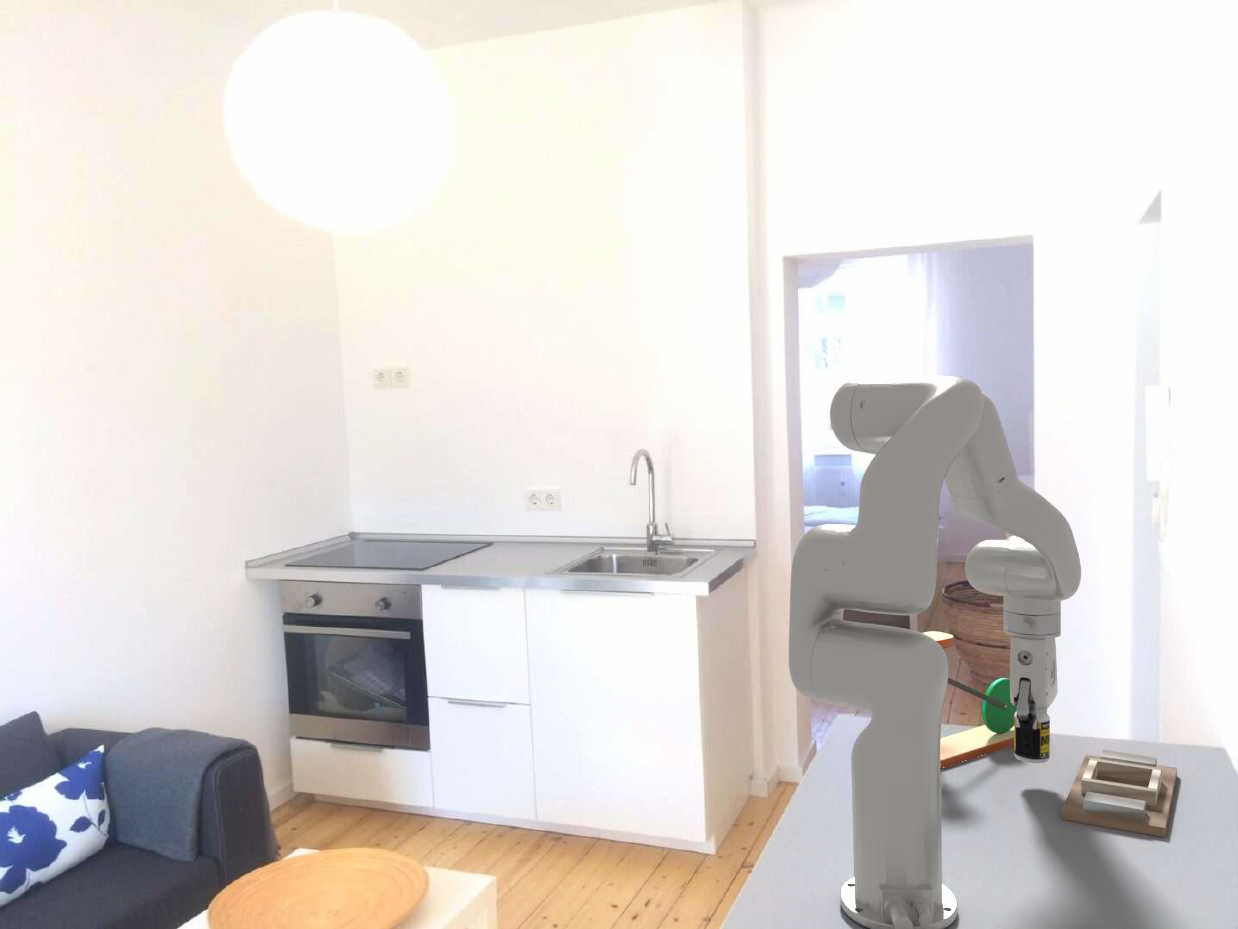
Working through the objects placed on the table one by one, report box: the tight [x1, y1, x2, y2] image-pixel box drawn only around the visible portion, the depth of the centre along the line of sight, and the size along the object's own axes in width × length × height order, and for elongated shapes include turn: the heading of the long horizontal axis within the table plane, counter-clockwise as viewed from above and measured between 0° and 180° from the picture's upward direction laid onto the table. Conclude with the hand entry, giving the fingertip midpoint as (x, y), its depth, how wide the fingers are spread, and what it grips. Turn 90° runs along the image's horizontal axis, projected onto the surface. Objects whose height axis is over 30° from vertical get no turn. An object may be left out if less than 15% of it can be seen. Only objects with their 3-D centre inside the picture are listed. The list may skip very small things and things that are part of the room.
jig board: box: [1061, 749, 1178, 838], centre depth 142 cm, size 22×12×3 cm, turn 148°
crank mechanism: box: [922, 630, 1017, 769], centre depth 162 cm, size 25×7×19 cm, turn 121°
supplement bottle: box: [1013, 702, 1051, 764], centre depth 147 cm, size 5×5×8 cm
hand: (1031, 748), depth 147 cm, fingers closed on supplement bottle, 4 cm apart
